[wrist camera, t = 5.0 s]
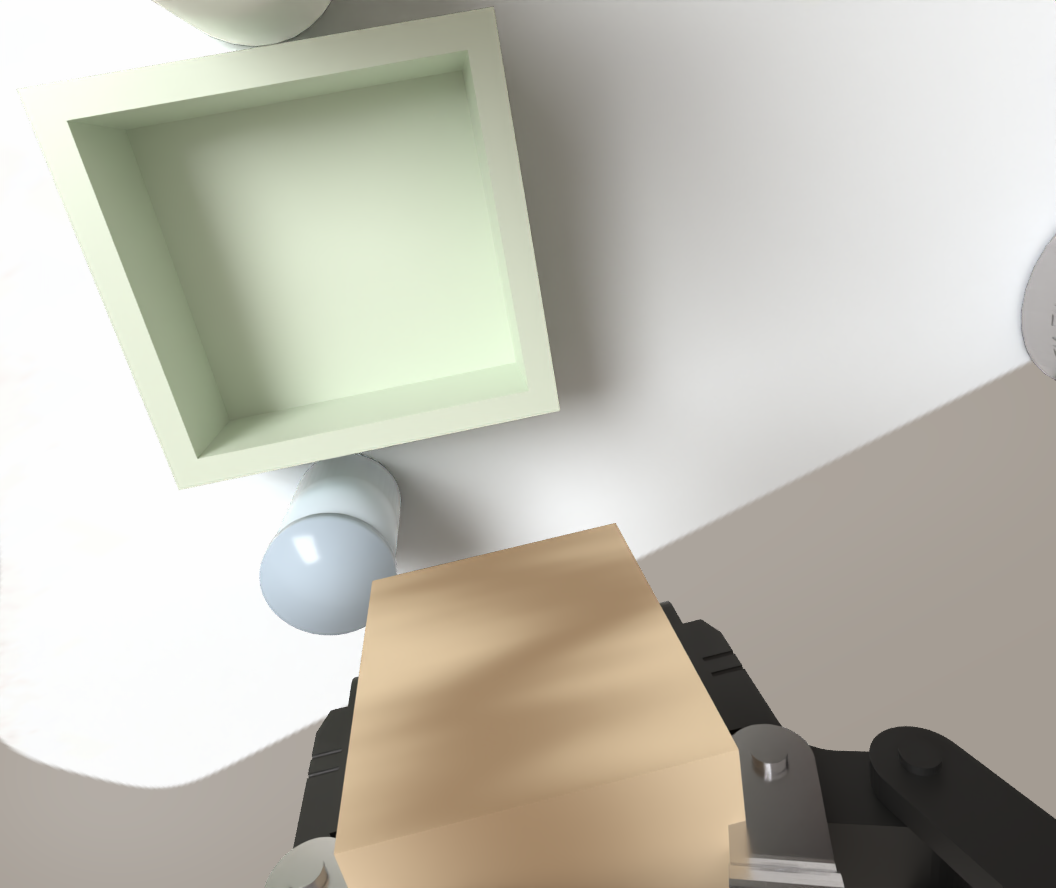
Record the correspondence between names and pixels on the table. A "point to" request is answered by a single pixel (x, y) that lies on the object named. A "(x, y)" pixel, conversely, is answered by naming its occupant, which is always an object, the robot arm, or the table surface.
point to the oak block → (533, 731)
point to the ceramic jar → (333, 546)
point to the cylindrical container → (248, 18)
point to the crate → (309, 242)
